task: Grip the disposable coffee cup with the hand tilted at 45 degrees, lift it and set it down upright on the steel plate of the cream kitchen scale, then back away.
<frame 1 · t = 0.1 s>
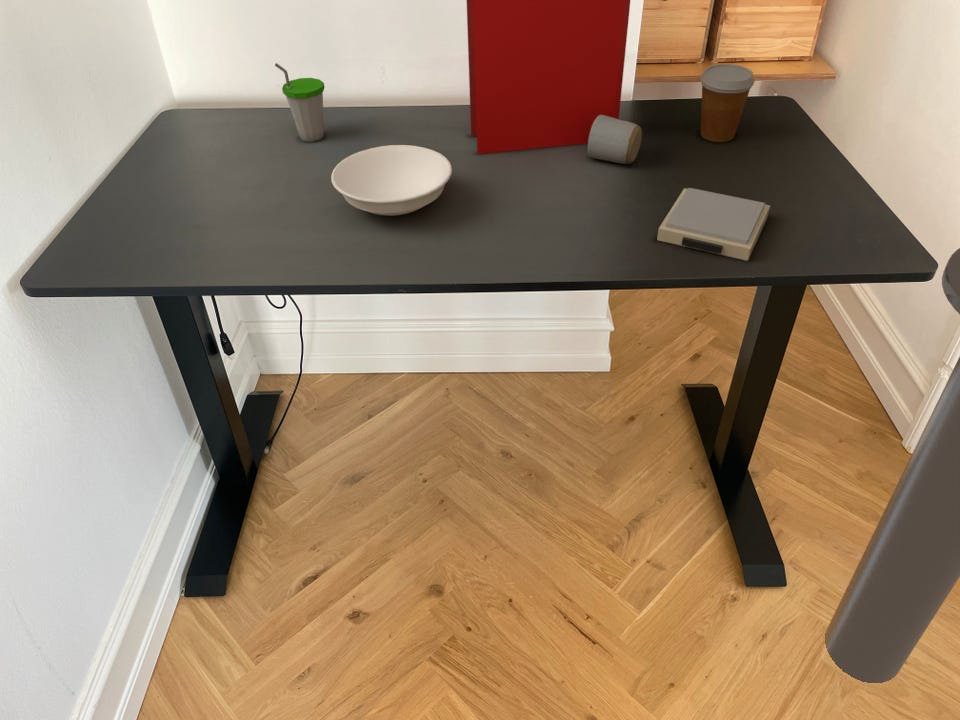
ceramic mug: (614, 157, 144), on the table
book: (544, 138, 151), on the table
disposable coffee cup: (717, 136, 150), on the table
scale: (713, 228, 124), on the table
cup: (312, 138, 154), on the table
bowl: (395, 206, 132), on the table
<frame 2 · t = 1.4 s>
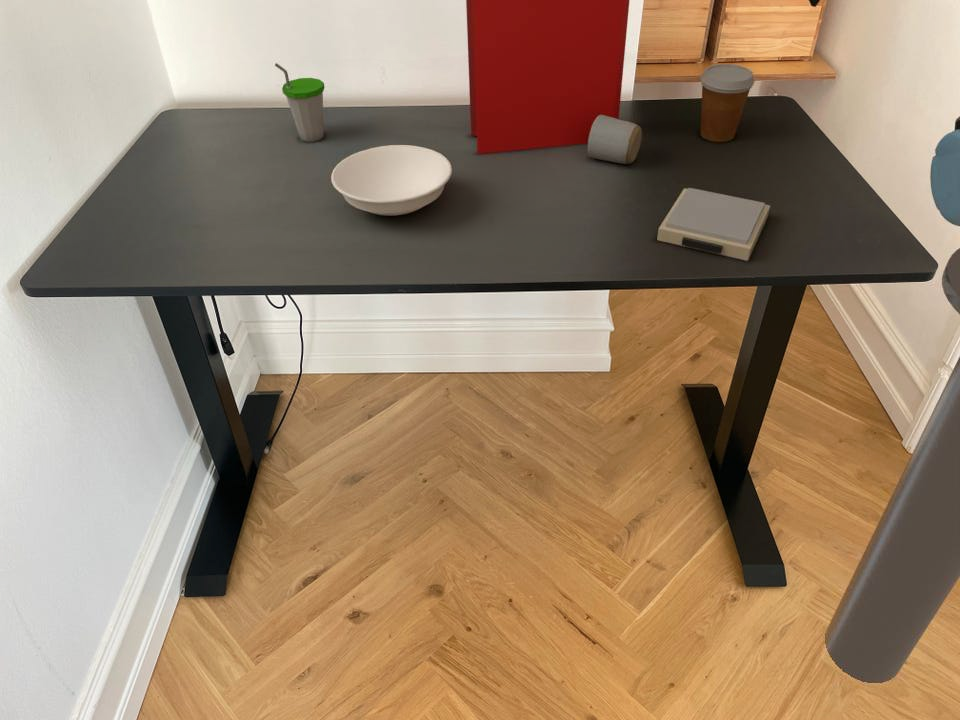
nothing on the table moved.
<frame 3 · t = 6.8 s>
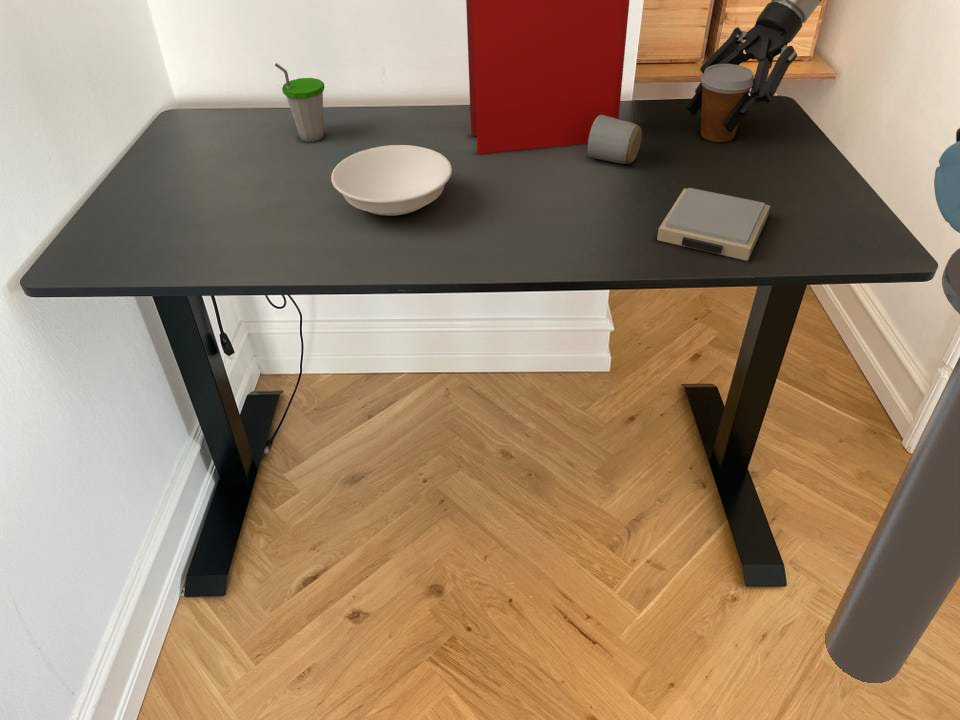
hand: (708, 119, 146), 4 cm above the table, tool tilted 45°, fingers closed on disposable coffee cup, 9 cm apart
disposable coffee cup: (717, 136, 150), on the table, touching gripper
everything else where it was.
when the fingers open (7 cm above the table, at t = 17.1 s): disposable coffee cup stays where it is, resting on scale.
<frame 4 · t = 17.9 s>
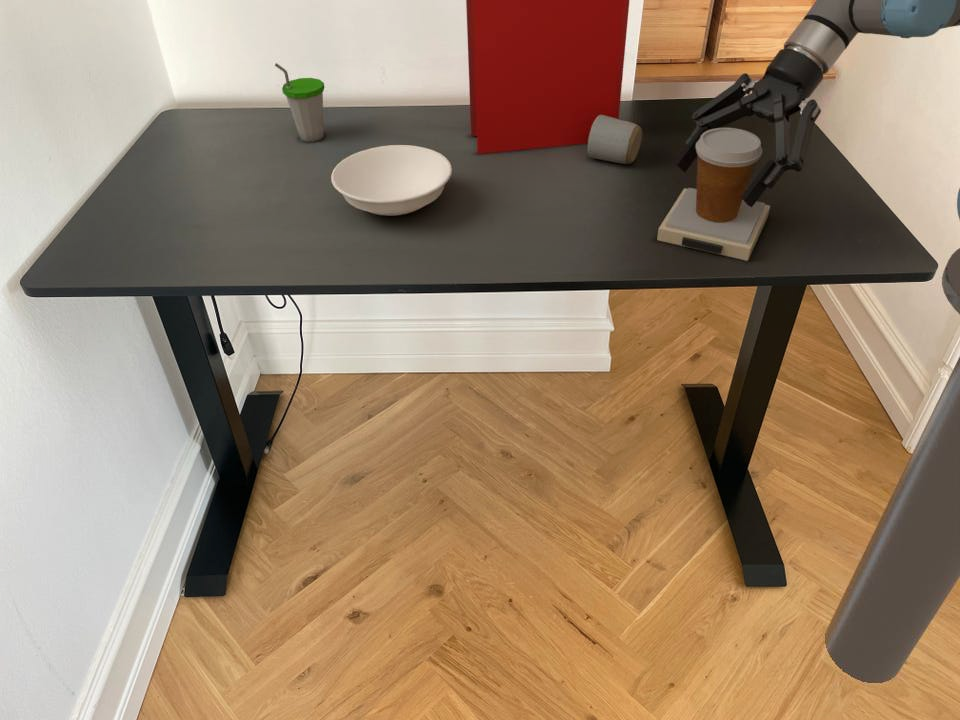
hand: (711, 184, 117), 8 cm above the table, tool tilted 45°, fingers open, 13 cm apart
disposable coffee cup: (716, 213, 122), point 3 cm above the table, touching scale
everything else where it was.
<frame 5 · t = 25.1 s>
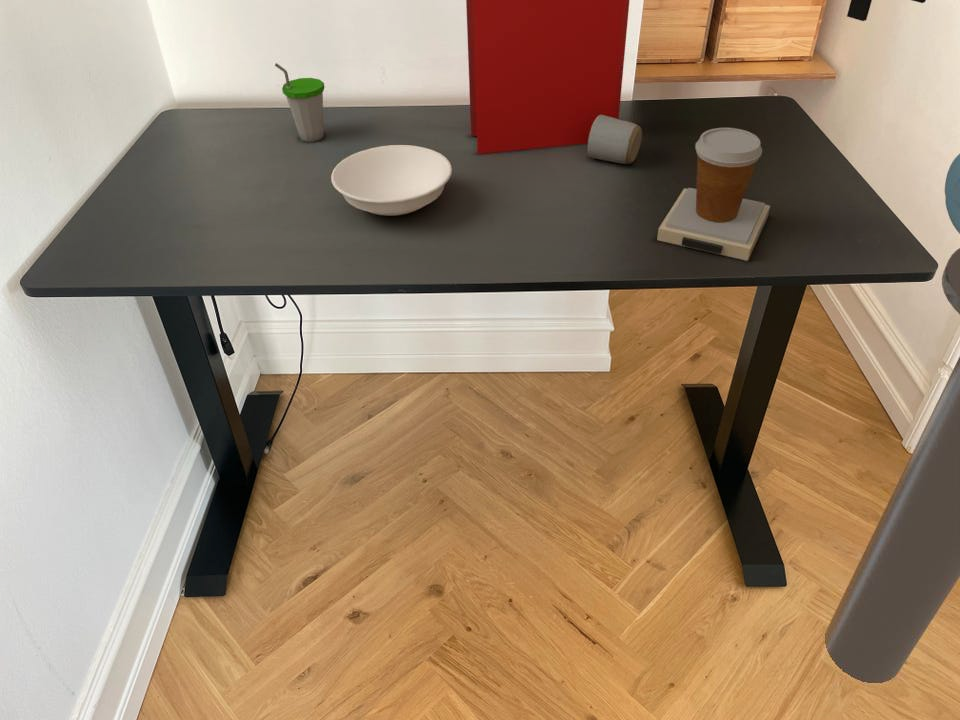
hand: (886, 9, 114), 29 cm above the table, tool pointing down, fingers open, 13 cm apart
nothing on the table moved.
at the end: disposable coffee cup inside the target area on the scale (0.1 cm from its centre), point 2.7 cm above the scale's base; disposable coffee cup tilted 0°; the gripper is holding nothing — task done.
